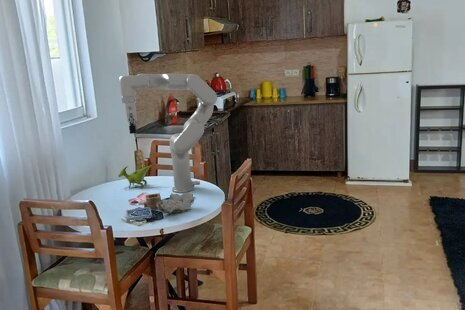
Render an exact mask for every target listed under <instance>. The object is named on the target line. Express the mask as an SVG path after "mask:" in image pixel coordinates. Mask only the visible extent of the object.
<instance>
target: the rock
mask: <svg viewBox="0 0 465 310" xmlns="http://www.w3.org/2000/svg"><path fill="white" fill-rule="evenodd" d="M194 201H195V197H194V195H193V193H191V192H182V194H178V193H170V194H169V197H168V200H167V199H165V198H163V199H161V202H158V203H156V206H157V207H158V209H157V210H159V211H160V212H161V213H163V214H167V215H170V214H172V213H180V214H183V213H184V212H186V211H188V210H190V209H191V208H192V203H194Z"/></svg>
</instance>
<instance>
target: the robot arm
mask: <svg viewBox="0 0 465 310" xmlns="http://www.w3.org/2000/svg"><path fill="white" fill-rule="evenodd" d="M118 80H119V86H120V94H121V103H122V104H124V108H125V116H126V120H127V122H128V124H129V125H128V127H129V128H128V129H129V134H137V129H136V127H137V125H136V122H138V115H137V114H138V113H137V106H136V103H137V102H138V101H137V99H138V98H137V91H136V89H137V90H142V89H143V90H144V89H148V88H149V89H161V90H167V91H168V90H169V91H191V92H192V94H194V95H195V96H196V97H197V100H198V107H197V108H196V109H195V111H194V113H193V114H192V115H191V116H190V117H189V118H188V119H187V120H186V121H185V122H184V124H183V131H181V133H174V134H173V135H172V136H170V139H169V150H170V154H171V155H170V156H171V163H172V172H173V173H172V174H173V182H174V184H173V185H174V186H173V187H172V188H171V191H172V192H174V193H177V194H178V193H185V192H186V193H190V192H191V191H193V190H195V186H198V185H201V182H200V181H199V180H198V181H197V180H194V181H193V180H192V176H191V174H192V173H191V163H190V154H189V152H190V150H191V149H192V148H193V147H195V145H196V144H197V143H198V141H200V139H201V138H202V136H203V135H204V132H205V127H204V126H205V125H206V123H207V122H208V121H209V120H210V119H211V117H212V115H213V113H214V105H215V104H216V103H217V101H218V95H217V93H216V92H215V90H213V88H212V87H210V85H208V84H207V83H206V81H204V79H202V78H201V77H200V76H199V75H198V74H194V73H137V74H136V75H131V74H130V75H128V74H127V75H121V76H119V79H118Z"/></svg>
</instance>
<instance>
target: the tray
mask: <svg viewBox="0 0 465 310" xmlns="http://www.w3.org/2000/svg"><path fill="white" fill-rule="evenodd" d="M143 209H146V210H149V211H150V214H149V215H142V216H135V217H128V216H130V215H131V214H132V213H133V212H134V211H138V210H143ZM152 215H153V214H152V210H151V209H150V207H145V208H144V207H139V208H138V207H137V208H133V209H132V208H131V209H126V210H125V216H126V217H125V218H126V223H130V222H129V221H130V220H134V219H141V218H145V217H148V216H152ZM152 217H153V216H152Z"/></svg>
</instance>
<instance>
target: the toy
mask: <svg viewBox="0 0 465 310" xmlns="http://www.w3.org/2000/svg"><path fill="white" fill-rule="evenodd" d="M151 167H153V165H151V164H150V165H148V166H145V167H142V168H140V169H138V170H137V169H136V170H135V171H133V172H132V173H130V174H128V173H127V171H126V170H127V168H129V166H125V167H124V168H122V169H121V170H120V171H119V174H118V175H117V177H118V178H121V177H125V178H126V179H127V181H128V184H129V186H128V188H129V189H130V188H131V185H132V186H133V185H134V184H136V185H140V189H142V188H143V187H144V186H145V185H147V184H148V181H147V180H145V176H146V174H147V172H148V171H149V169H150V168H151ZM143 182H144V184H143Z"/></svg>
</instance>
